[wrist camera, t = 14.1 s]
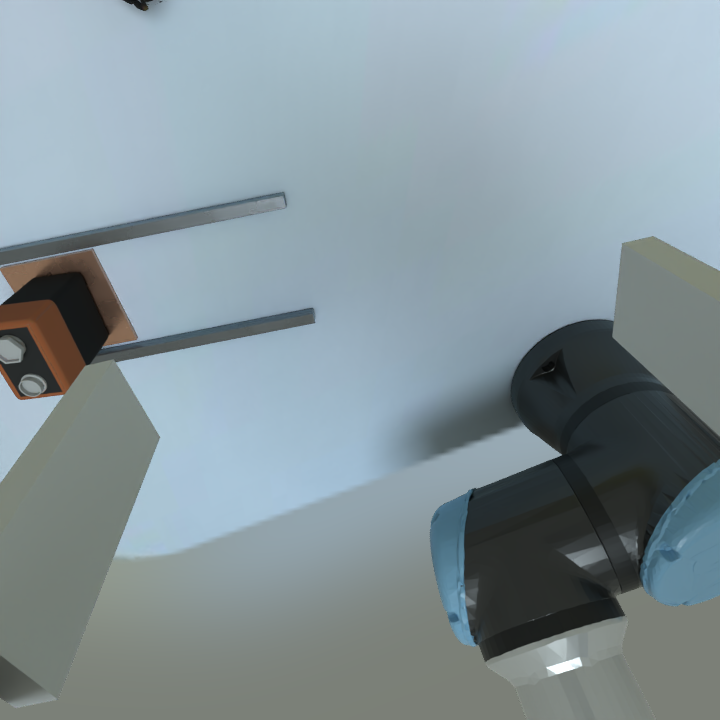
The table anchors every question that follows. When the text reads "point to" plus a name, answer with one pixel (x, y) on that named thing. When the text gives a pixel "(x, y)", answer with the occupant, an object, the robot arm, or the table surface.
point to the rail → (106, 295)
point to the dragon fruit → (140, 4)
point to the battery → (48, 335)
